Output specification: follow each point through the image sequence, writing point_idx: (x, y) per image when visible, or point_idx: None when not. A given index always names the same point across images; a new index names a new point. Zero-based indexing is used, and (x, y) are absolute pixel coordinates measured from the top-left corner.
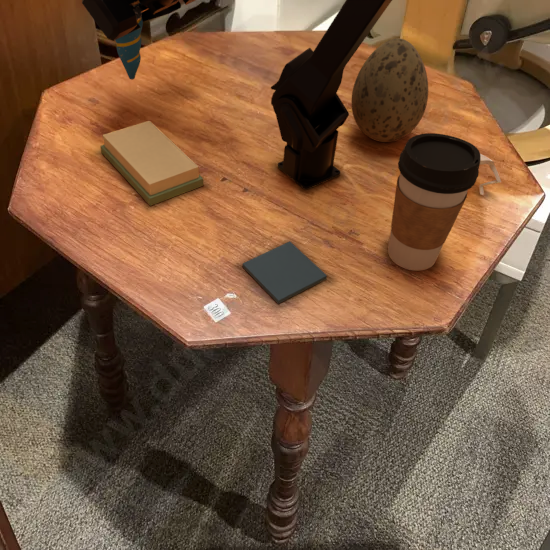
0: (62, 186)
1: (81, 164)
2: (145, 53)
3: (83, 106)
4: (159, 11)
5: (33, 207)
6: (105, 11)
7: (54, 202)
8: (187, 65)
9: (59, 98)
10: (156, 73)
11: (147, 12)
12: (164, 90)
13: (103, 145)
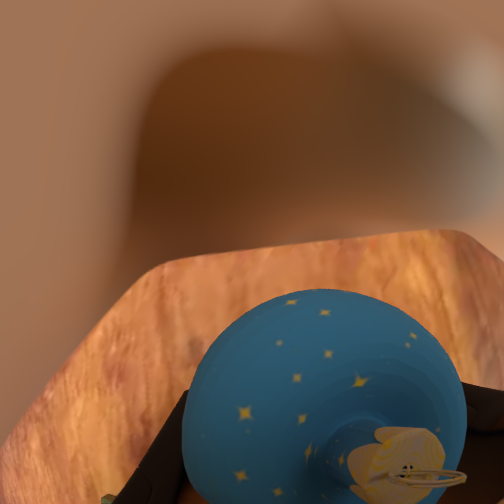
0: (36, 492)
1: (71, 486)
2: (386, 247)
3: (167, 354)
4: (437, 502)
5: (4, 484)
6: None
7: (21, 501)
8: (431, 332)
9: (152, 297)
10: None
11: None
12: None
13: (105, 501)
